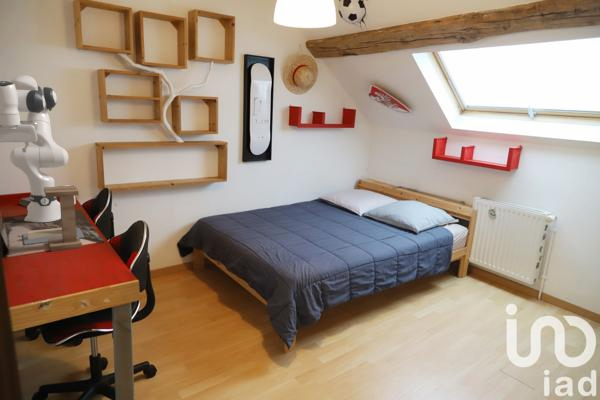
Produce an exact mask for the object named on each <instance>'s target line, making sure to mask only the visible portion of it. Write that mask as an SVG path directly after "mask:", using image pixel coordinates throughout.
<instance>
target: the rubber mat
mask: <svg viewBox="0 0 600 400" xmlns="http://www.w3.org/2000/svg"><path fill="white" fill-rule="evenodd" d="M76 235H78V237H79V239H80V240H81V239H85V236H84V233H83V232H82V230H81V228H80V227H77V234H76ZM22 237H23V242H24V243H23V244H24V246H29V245H31V246H32V245H38V244H39V245H40V244H45V243H46V244H47V243H48V239H52V238H60V237H62V236H53V237H45V238H36V239H28V234H27V233H23V234H22Z"/></svg>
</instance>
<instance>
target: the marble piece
mask: <svg viewBox="0 0 600 400" xmlns="http://www.w3.org/2000/svg"><path fill="white" fill-rule="evenodd" d="M30 203H31V200H30V196H28V197H22V198H20V199H19V205H21V206H23V207H25V208H27V206H28V205H29V204H30Z"/></svg>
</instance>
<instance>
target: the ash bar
mask: <svg viewBox="0 0 600 400" xmlns="http://www.w3.org/2000/svg"><path fill="white" fill-rule="evenodd" d="M77 228H78V227H77V226H76V234H77ZM26 234H28V239H36V238H45V237H53V236H62V227H57V228H47V229H45V228H44V229H37V230H29V231H26Z"/></svg>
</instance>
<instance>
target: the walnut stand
mask: <svg viewBox="0 0 600 400" xmlns="http://www.w3.org/2000/svg"><path fill="white" fill-rule="evenodd" d="M44 193H45V195H46V198H48V197H57V198H59V203H60V210H61V219H60V221H61V222H60V223H61V228H62V237H60V238H52V239H48V247H49V249H50V252H56V251H57V252H58V251H65V250H72V249H80V248H82V247H83V243H82V241H81V238H80V239H79V237H78V235H76V227H77V224H76V209H75V205H76V204H75V205H74V196H75V197H76V196H79V195H80V194H79V190H78V189H77V187H76V186H75V185H70V186H66V185H64V186H63V185H62V186H55V187H44Z"/></svg>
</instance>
